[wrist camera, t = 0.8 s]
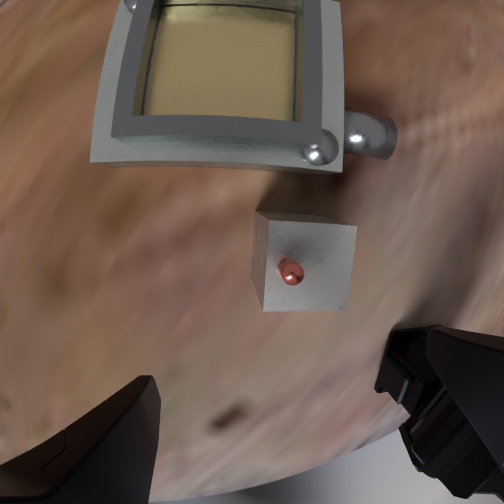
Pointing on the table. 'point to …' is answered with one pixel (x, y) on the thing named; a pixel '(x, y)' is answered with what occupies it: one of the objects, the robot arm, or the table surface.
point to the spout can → (302, 261)
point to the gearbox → (230, 88)
